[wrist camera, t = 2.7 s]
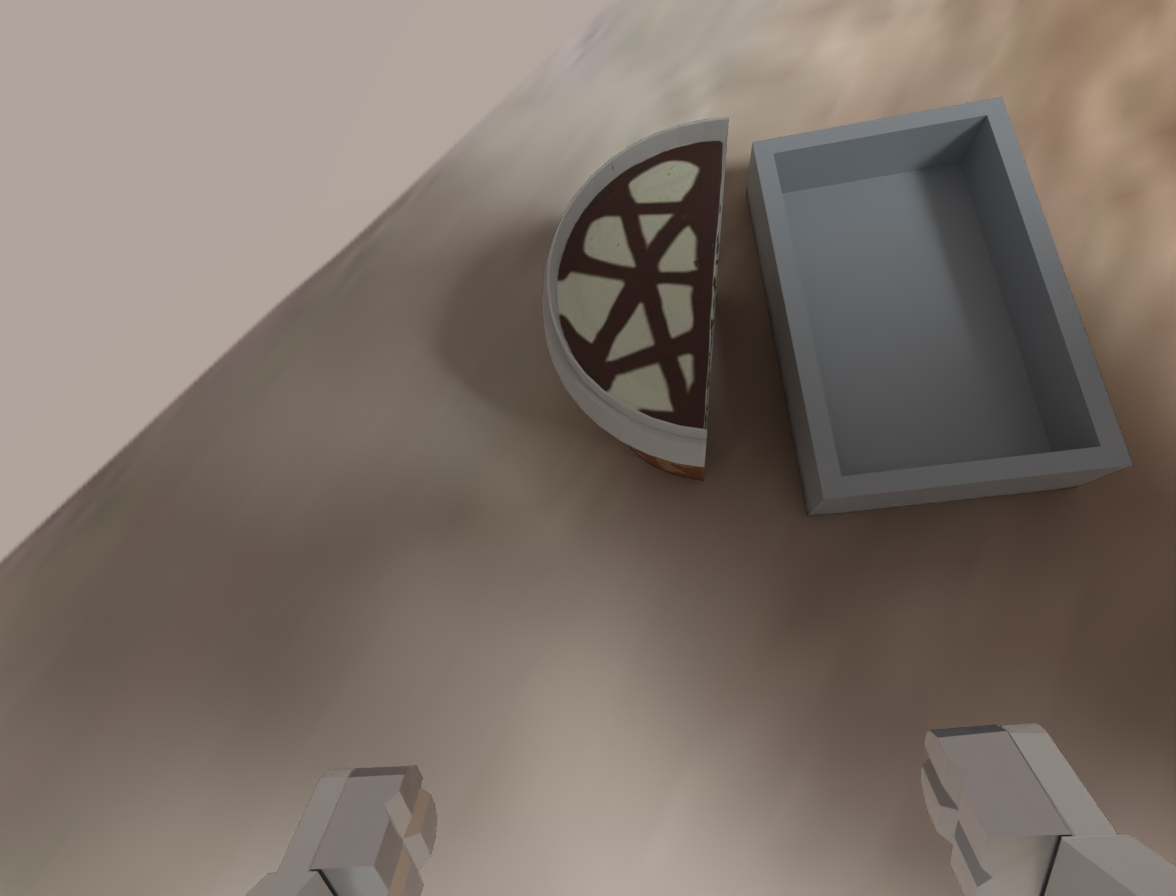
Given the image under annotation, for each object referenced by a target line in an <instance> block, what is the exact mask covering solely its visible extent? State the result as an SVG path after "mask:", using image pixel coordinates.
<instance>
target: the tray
mask: <svg viewBox="0 0 1176 896" xmlns="http://www.w3.org/2000/svg"><path fill="white" fill-rule="evenodd" d="M746 195H747V201H748V206H749V211H750V216H751V222H752V227H753V232H754V237H755V243H756V248H757V253H758V258H759V264H760V269H761V274H762V279H763V285H764V290H765V295H766V300H767V306H768V311H769V316H770V321H771V327H772V332H773V337H774V342H775V348H776V353H777V358H778V363H779V369H780V374H781V379H782V384H783V390H784V395H785V400H786V405H787V411H788V416H789V421H790V427H791V432H792V437H793V442H794V448H795V453H796V458H797V463H798V469H799V474H800V479H801V484H802V490H803V495H804V500H805V505H806V511H807V516H816V515H825V514H834V513H843V512H852V511H862V510H871V509H880V508H889V507H898V506H908V505H917V504H926V503H935V502H944V501H954V500H963V499H972V498H981V497H990V496H1000V495H1009V494H1018V493H1027V492H1036V491H1046V490H1055V489H1064V488H1073V487H1078V486H1080V485H1083V484H1085V483H1088V482H1091V481H1093V480H1096V479H1098V478H1101V477H1103V476H1106V475H1109V474H1111V473H1114V472H1116V471H1119V470H1121V469H1124V468H1126V467H1129V466H1132V465H1133V464H1132V461H1131V458H1130V455H1129V453H1128V450H1127V447H1126V444H1125V441H1124V439H1123V436H1122V433H1121V430H1120V427H1119V424H1118V422H1117V419H1116V416H1115V413H1114V410H1113V408H1112V405H1111V402H1110V399H1109V396H1108V394H1107V391H1106V388H1105V385H1104V382H1103V380H1102V377H1101V374H1100V371H1099V368H1098V365H1097V363H1096V360H1095V357H1094V354H1093V351H1092V349H1091V346H1090V343H1089V340H1088V337H1087V335H1086V332H1085V329H1084V326H1083V323H1082V321H1081V318H1080V315H1079V312H1078V309H1077V307H1076V304H1075V301H1074V298H1073V295H1072V292H1071V290H1070V287H1069V284H1068V281H1067V278H1066V276H1065V273H1064V270H1063V267H1062V264H1061V262H1060V259H1059V256H1058V253H1057V250H1056V248H1055V245H1054V242H1053V239H1052V236H1051V233H1050V231H1049V228H1048V225H1047V222H1046V219H1045V217H1044V214H1043V211H1042V208H1041V205H1040V203H1039V200H1038V197H1037V194H1036V191H1035V189H1034V186H1033V183H1032V180H1031V177H1030V174H1029V172H1028V169H1027V166H1026V163H1025V160H1024V158H1023V155H1022V152H1021V149H1020V146H1019V144H1018V141H1017V138H1016V135H1015V132H1014V130H1013V127H1012V124H1011V121H1010V118H1009V115H1008V113H1007V110H1006V107H1005V104H1004V101H1003V99H1002V97H998V98H992V99H987V100H981V101H976V102H970V103H965V104H959V105H954V106H949V107H943V108H938V109H932V110H927V111H921V112H916V113H910V114H905V115H899V116H894V117H888V118H883V119H877V120H872V121H867V122H861V123H856V124H850V125H845V126H839V127H834V128H828V129H823V130H817V131H812V132H806V133H801V134H795V135H790V136H785V137H779V138H774V139H768V140H763V141H757V142H752V150H751V158H750V167H749V175H748V183H747V191H746Z"/></svg>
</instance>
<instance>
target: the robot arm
mask: <svg viewBox="0 0 1176 896" xmlns="http://www.w3.org/2000/svg"><path fill="white" fill-rule="evenodd" d="M924 747H925V749H926V751H927V753H928V755H929V759H928V760H927V761H926V762H924V763H923V764H922V769H921V784H922V790H923V796H924V800H925V803H926V806H927V809H928V812H929V815H930V818H931V820H932V822H933V825H934V827H935V830H936V832H937V833H939V834H940V835H941V836H942V837H943V838H944V839H946V840H947V841H948V842H949V843H950V844H952V845H953V848H952V854H951V861H950V864H951V867H952V869H953V871H954V873H955V876H956V878H957V880H958V882H959V885H960V887H961V889H962V891H963V894H964V896H1176V866H1175V865H1174V864H1172V863H1171V862H1169V861H1168V860H1166V859H1165V858H1163V857H1162V856H1160V855H1159V854H1158V853H1156V852H1155V851H1153V850H1152V849H1150V848H1149V847H1147V846H1146V845H1145V844H1143V843H1142V842H1140V841H1139V840H1137V839H1136V838H1134V837H1133V836H1131V835H1130V834H1117V833H1116V832H1115V830H1114V829H1113V827H1112V826H1111V824H1110V823H1109V821H1108V820H1107V819H1106V817H1105V816H1104V814H1103V813H1102V811H1101V810H1100V808H1099V807H1098V805H1097V804H1096V803H1095V801H1094V800H1093V798H1092V797H1091V795H1090V794H1089V792H1088V791H1087V790H1086V788H1085V787H1084V785H1083V784H1082V782H1081V781H1080V779H1079V778H1078V776H1077V775H1076V774H1075V772H1074V771H1073V769H1072V768H1071V766H1070V765H1069V763H1068V762H1067V761H1066V759H1065V758H1064V756H1063V755H1062V753H1061V752H1060V750H1059V749H1058V747H1057V746H1056V745H1055V743H1054V742H1053V740H1052V739H1051V737H1050V736H1049V734H1048V733H1047V732H1046V730H1045V729H1044V728H1042V727H1041V726H1040V725H1038V724H1036V723H1025V724H1014V725H1003V726H997V725H986V726H974V727H962V728H950V729H938V730H929V731H928V732H927V734H926V735H925V742H924ZM422 780H423V777H422V775H421V773H420V771H419V769H418V767H417V765H413V766H393V767H373V768H349V769H334V770H328V771H327V772H326V773H325V774H324V775H323V776H322V777H321V779H320V780H319V782H318V784H317V786H316V788H315V790H314V792H313V795H312V797H311V799H310V801H309V803H308V806H307V808H306V810H305V812H304V814H303V816H302V819H301V821H300V823H299V825H298V827H297V830H296V832H295V834H294V836H293V838H292V840H291V843H290V845H289V847H288V849H287V851H286V854H285V856H284V858H283V860H282V862H281V864H280V867H279V869H278V871H277V872H275V873H268V874H267V875H266V876H265V877H264V878H263V879H262V880H261V881H260V882H259V883H258V884H257V885H256V886H255V887H254V888H253V889H252V890H251V891H249V892H248V893H247V894H246V895H245V896H421V893H422V890H423V886H424V885H423V882H422V880H421V877H420V874H419V869H420V868H421V867H422V866H423V865H424V864H425V862H426V861H427V860H428V859H429V858H430V857H431V855H432V850H433V846H434V842H435V838H436V825H437V814H436V808H435V803H434V801H433V798H432V796H431V794H429V793H428V792H426V791H425V790H423V789H421V788H420V786H421V783H422Z"/></svg>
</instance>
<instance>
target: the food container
mask: <svg viewBox="0 0 1176 896" xmlns="http://www.w3.org/2000/svg"><path fill="white" fill-rule="evenodd" d="M728 121H729V117H724V118H714V119H704V120H699V121H694V122H690V123H685V124H681V125H677V126H674V127H671V128H668V129H666V130H663V131H660V132H657V133H654V134H652V135H650V136H648V137H646V138H644V139H642V140H640V141H638V142H636V143H634V144H632V145H630V146H629V147H627V148H626V149H624V150H623V151H621V152H620V153H618V154H617V155H616V156H614V157H613V158H611V159H610V160H609V161H607V162H606V163H605V164H604V165H603V166H602V167H601V168H600V169H598V170H597V171H596V172H595V173H594V174H593V175H592V176H591V177H590V178H589V179H588V180H587V182H586V183H585V184H584V185H583V186H582V187H581V189H580V190H579V191H578V192H577V193H576V195H575V196H574V198H573V199H572V201H571V203H570V204H569V206H568V208H567V209H566V211H565V212H564V214H563V216H562V218H561V221H560V223H559V225H558V228H557V230H556V232H555V235H554V237H553V240H552V243H551V245H550V248H549V252H548V256H547V260H546V264H545V268H544V277H543V292H542V301H543V321H544V330H545V339H546V343H547V346H548V350H549V353H550V356H551V360H552V363H553V365H554V367H555V369H556V371H557V373H558V375H559V377H560V379H561V381H562V383H563V385H564V387H565V388H566V390H567V391H568V392H569V394H570V395H571V396H572V398H573V399H574V401H575V402H576V403H577V405H578V406H579V407H580V408H581V409H582V410H583V411H584V412H585V413H586V414H587V415H588V416H589V417H590V418H591V419H592V420H593V421H594V422H595V423H596V424H597V425H598V426H600V427H601V428H602V429H604V430H605V431H607V432H608V433H610V434H611V435H613V436H614V437H616V438H617V439H618V440H620V441H621V442H623V443H625V444H627V445H628V446H629V447H630V448H631V449H632V450H633V451H634V452H635V453H636V454H637V455H638V456H639V457H641V458H642V459H644V460H645V461H647V462H648V463H650V464H651V465H653V466H655V467H657V468H659V469H661V470H663V471H665V472H668V473H670V474H674V475H677V476H680V477H684V478H690V479H697V480H704V467H705V456H706V442H707V422H708V407H709V393H710V378H711V364H712V349H713V335H714V320H715V305H716V291H717V277H718V263H719V249H720V235H721V220H722V206H723V192H724V178H725V164H726V150H727V136H728Z"/></svg>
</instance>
